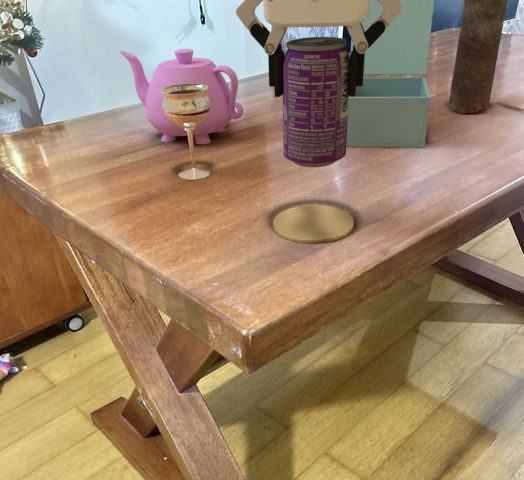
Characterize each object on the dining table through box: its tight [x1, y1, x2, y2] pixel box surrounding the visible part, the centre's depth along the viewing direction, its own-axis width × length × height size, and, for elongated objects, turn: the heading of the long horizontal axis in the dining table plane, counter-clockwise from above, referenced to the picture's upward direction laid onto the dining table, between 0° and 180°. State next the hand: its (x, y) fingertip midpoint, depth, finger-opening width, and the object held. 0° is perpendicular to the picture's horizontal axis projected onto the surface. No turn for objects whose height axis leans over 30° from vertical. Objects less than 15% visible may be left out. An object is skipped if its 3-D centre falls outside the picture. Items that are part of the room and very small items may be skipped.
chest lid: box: [350, 0, 435, 76], centre depth 94 cm, size 15×13×4 cm
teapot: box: [119, 48, 244, 145], centre depth 94 cm, size 22×16×14 cm
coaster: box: [272, 204, 355, 244], centre depth 67 cm, size 10×10×1 cm
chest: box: [346, 76, 432, 149], centre depth 92 cm, size 14×13×8 cm
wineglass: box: [161, 83, 212, 181], centre depth 79 cm, size 7×7×12 cm
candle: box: [448, 0, 509, 115], centre depth 98 cm, size 8×7×20 cm
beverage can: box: [282, 36, 350, 168], centre depth 58 cm, size 7×7×12 cm
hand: (315, 92), depth 58 cm, fingers closed on beverage can, 7 cm apart
